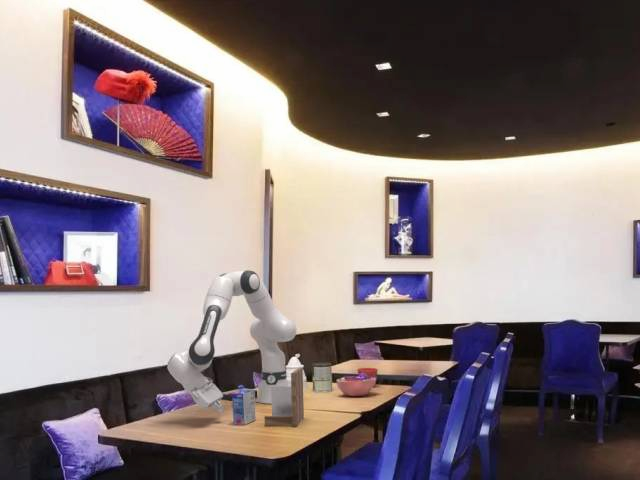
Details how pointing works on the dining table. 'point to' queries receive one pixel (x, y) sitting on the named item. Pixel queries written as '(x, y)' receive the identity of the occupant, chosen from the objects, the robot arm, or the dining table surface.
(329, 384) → the coffee can
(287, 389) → the steel bookend
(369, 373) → the flower pot
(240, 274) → the robot arm
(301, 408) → the walnut shelf
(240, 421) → the ink cartridge box
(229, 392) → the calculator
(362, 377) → the cell model
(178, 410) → the dining table surface
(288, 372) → the honey pot
